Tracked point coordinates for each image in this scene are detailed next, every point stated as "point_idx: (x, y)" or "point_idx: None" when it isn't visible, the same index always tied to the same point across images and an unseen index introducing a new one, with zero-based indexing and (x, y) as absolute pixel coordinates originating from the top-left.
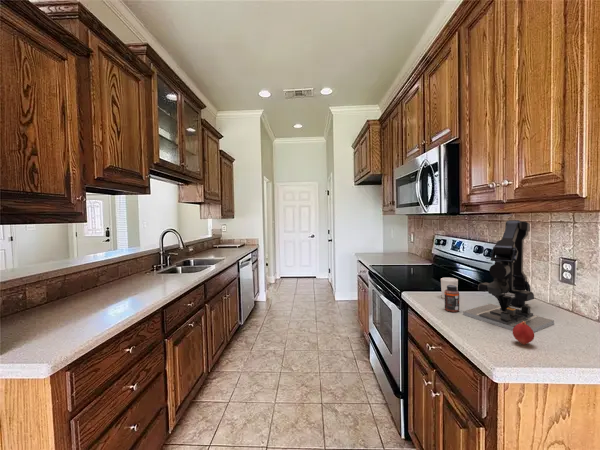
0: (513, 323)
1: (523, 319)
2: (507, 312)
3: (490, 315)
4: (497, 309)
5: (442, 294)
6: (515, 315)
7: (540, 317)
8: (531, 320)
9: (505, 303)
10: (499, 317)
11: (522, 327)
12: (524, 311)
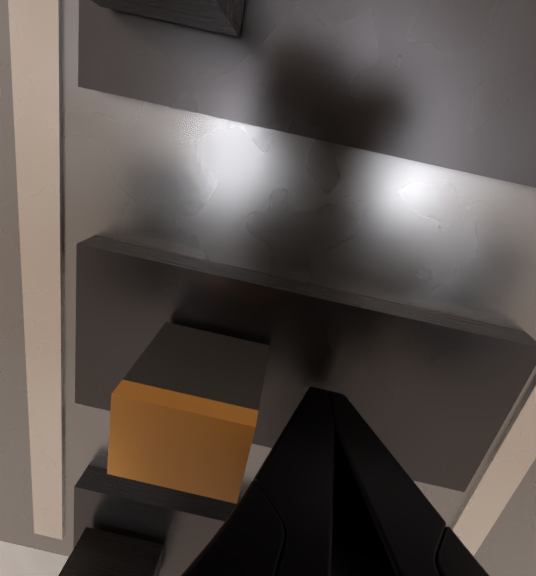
0: (59, 3)
1: (74, 349)
2: (250, 359)
3: (508, 38)
4: None
5: None
6: None
7: (11, 527)
8: (3, 376)
9: (262, 519)
10: (317, 56)
11: None
12: (115, 555)
